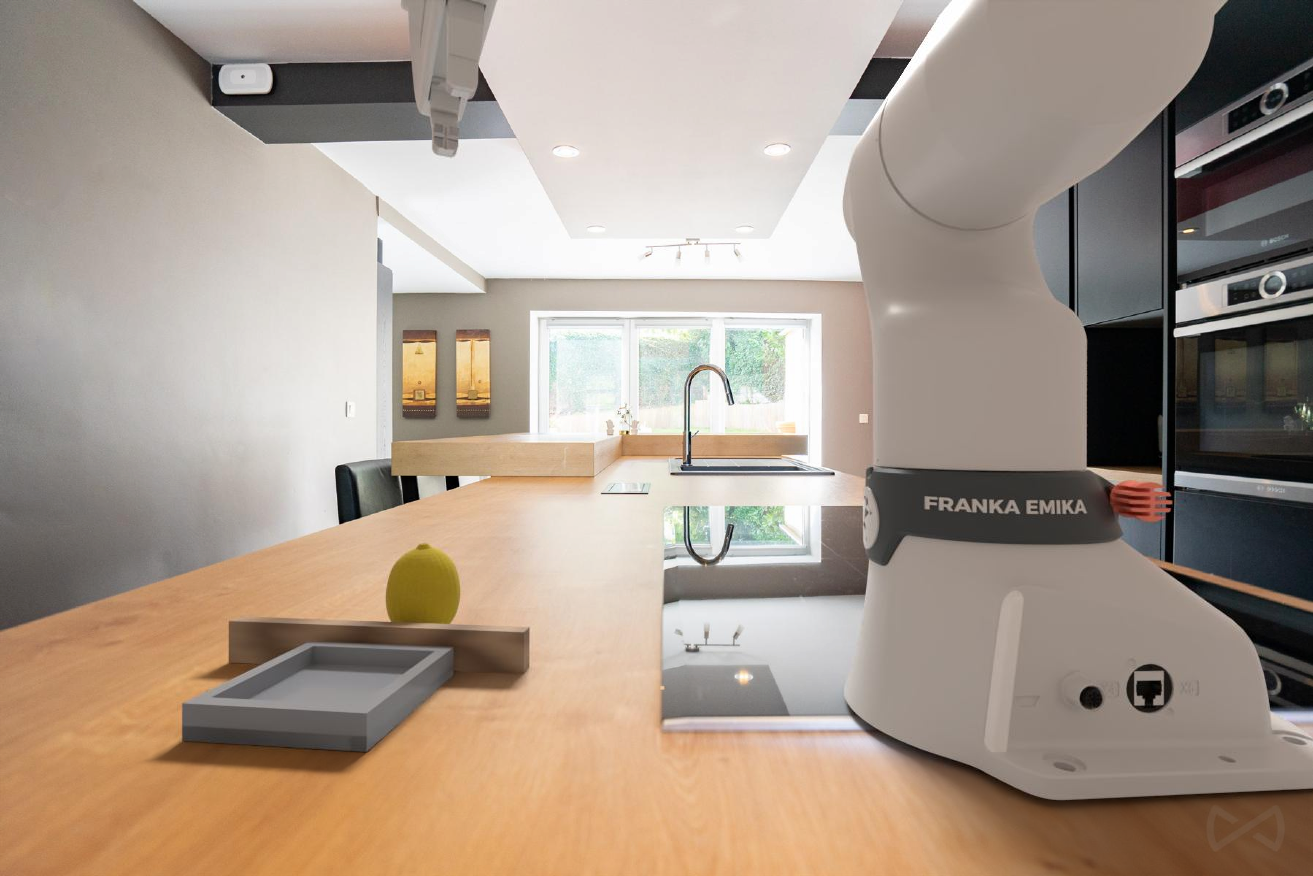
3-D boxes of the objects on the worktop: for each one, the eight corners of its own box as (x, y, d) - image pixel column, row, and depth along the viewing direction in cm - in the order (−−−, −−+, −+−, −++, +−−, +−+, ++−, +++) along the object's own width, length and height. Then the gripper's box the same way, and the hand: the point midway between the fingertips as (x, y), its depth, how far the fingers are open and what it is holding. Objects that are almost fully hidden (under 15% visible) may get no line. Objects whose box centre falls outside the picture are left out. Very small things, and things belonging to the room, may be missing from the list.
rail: (529, 669, 45) (529, 627, 45) (524, 676, 43) (524, 632, 43) (241, 656, 47) (241, 616, 47) (228, 662, 46) (228, 621, 46)
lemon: (436, 658, 47) (437, 550, 47) (369, 653, 48) (370, 547, 48) (472, 635, 52) (473, 538, 52) (412, 631, 53) (412, 536, 53)
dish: (453, 676, 43) (453, 647, 43) (366, 751, 33) (366, 713, 33) (309, 669, 44) (309, 641, 44) (182, 740, 34) (182, 703, 34)
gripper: (535, -187, 36) (532, 56, 36) (479, 24, 55) (476, 184, 55) (417, -237, 33) (413, 25, 34) (400, 2, 52) (397, 171, 52)
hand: (452, 125), depth 44 cm, fingers open, 8 cm apart
